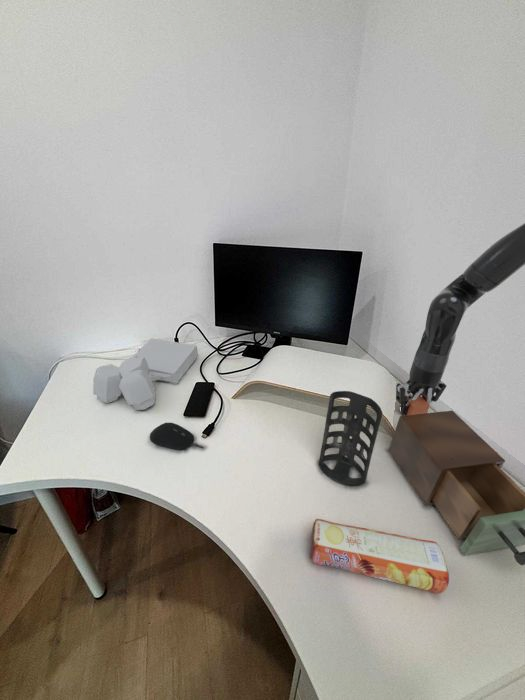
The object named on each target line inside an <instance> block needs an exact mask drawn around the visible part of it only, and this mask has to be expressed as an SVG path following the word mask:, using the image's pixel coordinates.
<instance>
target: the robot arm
mask: <svg viewBox="0 0 525 700" xmlns="http://www.w3.org/2000/svg"><path fill="white" fill-rule="evenodd" d="M524 266H525V222H524V223H522V224H521V225H520V226H517V227H516V228H515V229H513V230H511V231H510V232H508V233H507V234H505V235H504V236H502V237H501V238H499V239H498V240H496V241H495V242H494V243H493V244H491V245H490V246H489V247H488V248H487V249H486V250H484V251H483V252H482V253H481V255H479V256H478V257H477V258H476V259H474V261H473V262H471V264H470V265H468V267H467V268H466V269H465V270H464V271H463V272H462V273H461V274H460V275H459V276H458V277H456V278H455V279H454V280H452V281H451V282H450V283H449V284H447V286H446V287H445V288H443V289H442V290H440V292H439V293H437V295H436V296H435V297H434V298H433V299H432V301H431V303H430V305H429V307H428V311H427V315H426V320H425V326H424V327H425V328H424V331H423V333H422V335H421V339H420V342H419V345H418V347H417V350H416V351H415V354H414V357H413V361H412V364H411V367H410V370H409V379H408V380H407V381H406V383H404V384H401V383H396V385H395V400H396V401H397V402H398V404H399V407H401V412H402V413H401V412H400V413H401V414H402V416H405V415H407V412H408V409H409V405H410V404H411V403H412V401H415V400H416V398H417V397H418V396H421V397H422V398H423V399H424V400H425V401H426V402H427V403H428V404H429V405H430V404H431V403H432V402H434V403H437V401H438V400H439V399H440V397H441V396H442V394H443V393H444V391H445V390H446V388H447V384H446V383H445V382H443V381H442V378H443V375H444V372H445V370H446V367H447V365H448V362H449V360H450V359H449V358H450V354H451V352H452V349H453V346H454V344H455V340H456V337H457V334H456V333H457V330H458V328H459V326H460V324H461V321H462V319H463V318H464V316H465V313H466V311H467V310H468V308H470V307H472V305H473V304H474V303H476V302H477V301H478V300H479V299H480V298H481V297H483V296H484V295H485V294H486V293H489V292H491V291H493V290H494V289H496V288H497V287H499V286H501V284H503V283H504V282H505V281H506V280H508V279H509V278H510V277H511V276H512V275H514V274H515V273H516V272H518V271H519V270H520V269H521V268H523V267H524ZM412 395H413V396H412ZM407 398H409V399H408V400H406V399H407ZM400 404H401V406H400Z"/></svg>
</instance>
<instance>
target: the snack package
mask: <svg viewBox="0 0 525 700" xmlns="http://www.w3.org/2000/svg"><path fill="white" fill-rule="evenodd" d="M309 551H310V552H309V558H310V560H311V561H312V563H314V564H315V565H319V566H326V567H332V568H336V569H341V570H345V571H349V572H353V573H356V574H359V575H364V576H367V577H371V578H376V579H380V580H384V581H389V582H392V583H397V584H401V585H405V586H409V587H414V588H417V589H420V590H424V591H428V592H430V593H433V594H442V593H444V592H445V591H446V590H447V588H448V587H449V582H450V574H449V569H448V565H447V562H446V559H445V558H446V557H445V554H444V552H443V550H442V548H441V546H440V545H439V543H438V542H436V541H433V540H426V539H421V538H414V537H412V536H411V537H410V536H405V535H401V534H395V533H391V532H390V533H389V532H384V531H380V530H376V529H370V528H364V527H359V526H353V525H347V524H341V523H336V522H333V521H329V520H325V519H321V518H316V519H315V520H314V521H313V524H312V530H311V539H310V550H309Z"/></svg>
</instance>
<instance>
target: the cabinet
mask: <svg viewBox="0 0 525 700" xmlns="http://www.w3.org/2000/svg"><path fill="white" fill-rule="evenodd" d="M389 445H390V446H389V448H388V453H390V455H391V457H392V458H393V460H394V461H395V463H396V464H397V466H398V467H399V469H400V470H401V472H402V473H403V475H404V476H405V477H406V479H407V481H408V483H409V484H410V486H411V487H412V489H413V490H414V491H415V493H416V495H417V496H418V498H419V499H420V500H421V502H422V504H423V505H424V506H427V507H428V506H433V505H435V504H434V503H433V501H432V500H431V499H432V497H433V495H434V493H435V491H436V489H437V487H438V485H439V483H440V481H441V479H442V476H443V474H444V472H445V471H451V470H459V469H466V468H473V467H480V466H488V465H495V464H496V465H497V466H499V467H500V468H501V469H502V467H503V465H504V464H505V462H506V459H505V458H503V457H502V455H500V454H499V453H498V452H497V451H496V450H495V449H494V448H493V447H492V446H491V445H490V444H488V443H487V442H486V441H485V440H484V439H483V437H481V435H479V434H478V433H477V432H476V431H475V430H474V429H473V428H472V427H471V426H469V424H467V423H466V421H464V420H463V419H462V418H461V417H460V416H459V415H458V414H457V413H456V412H455V411H454V410H444V411H436V412H427V413H425V414H415V415H406V416H405V415H400V416H399V418H398V421H397V424H396V428H395V430H394V433H393V436H392V439H391V442H390V444H389Z"/></svg>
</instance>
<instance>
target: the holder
mask: <svg viewBox="0 0 525 700" xmlns="http://www.w3.org/2000/svg"><path fill="white" fill-rule="evenodd" d="M336 399H349V403H348V405H334V403H335V400H336ZM368 407H370V408H371V409H372V410H373V411H374V412H375V414H376V419H374V418H373V417H372V416H371V415H370V414H369V413H368V412H367V408H368ZM326 412H327V413H326V418H325V423H324V424H325V425H324V429H323V430H324V431H323V435H322V436H323V437H322V442H321V449H320V454H319V458H318V467H319V469H320V470H321V471H322V473H324V474H325V476H327V477H328V478H329V479H331V480H332V481H334V482H337V483H339V484H342V485H344V486H345V485H346V486H350V487H358V486H363V485H365V484H366V481H367V478H368V473H369V468H370V464H371V460H372V455H373V451H374V448H375V444H376V439H377V437H378V433H379V429H380V425H381V421H382V418H383V415H384V413H383V410H382V408H381V406H380V405H379V404H378V403H377V401H376V400H374V399H372V398H371V397H368V396H365V395H363V394H359V393H357V392H354V391H350V390H338V391H333V392H331V393H330V394H329V400H328V407H327V411H326ZM335 412H336V413H337V418H332V416H333V413H335ZM344 413H346V418H345V417H344ZM355 416H356V417H355ZM365 420H366V423H365V425H364V421H365ZM333 425H343V426H344V427H343V430H333V431H330V427H331V426H333ZM371 427H372V430H373V431H372V433H371V430H370V429H371ZM361 433H363V434H364V435H365V436H366V437H367V439H368V440H369V445H368V444H367V443H366V441H364V440H363V438H361V436H360V435H361ZM339 437H341V441H340V442H338V440H339ZM329 438H332V439H333V440H332V442H331V443H328V439H329ZM358 445H359V446H360V447H359V449H358ZM330 449H338V453H330V454H325V453H326V451H327V450H330ZM364 452H365V453H366V457H365V455H364ZM355 456H356V457H357V458H359V460H360V461H361V462H362V464H363V466H364V467H363V468H362V466H361V465H360V464H359V463H358V462H357V461H356V460H355ZM327 461H337V462H336V464H335V466H334V468H333V469H331V468H330V467H329V466H327V464H326V463H325V462H327ZM351 467H353V468H354V469H355V470H356V471H357V472H358V473H359V475H360V477H351V476H350V472H351Z"/></svg>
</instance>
